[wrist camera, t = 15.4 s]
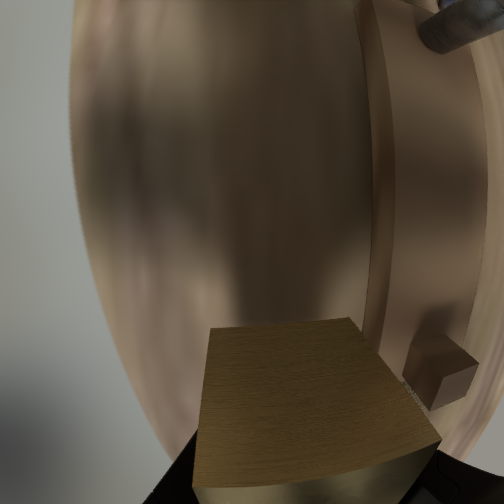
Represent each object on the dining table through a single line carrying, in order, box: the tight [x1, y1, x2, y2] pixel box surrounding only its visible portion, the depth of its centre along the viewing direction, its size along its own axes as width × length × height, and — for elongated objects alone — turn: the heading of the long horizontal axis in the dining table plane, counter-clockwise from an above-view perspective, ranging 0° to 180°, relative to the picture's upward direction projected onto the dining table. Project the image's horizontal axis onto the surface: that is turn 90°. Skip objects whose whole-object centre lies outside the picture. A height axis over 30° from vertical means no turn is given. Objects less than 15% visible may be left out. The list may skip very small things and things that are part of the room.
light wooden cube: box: [192, 317, 442, 504], centre depth 6 cm, size 6×4×5 cm, turn 2°
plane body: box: [354, 0, 488, 411], centre depth 10 cm, size 19×6×5 cm, turn 2°
